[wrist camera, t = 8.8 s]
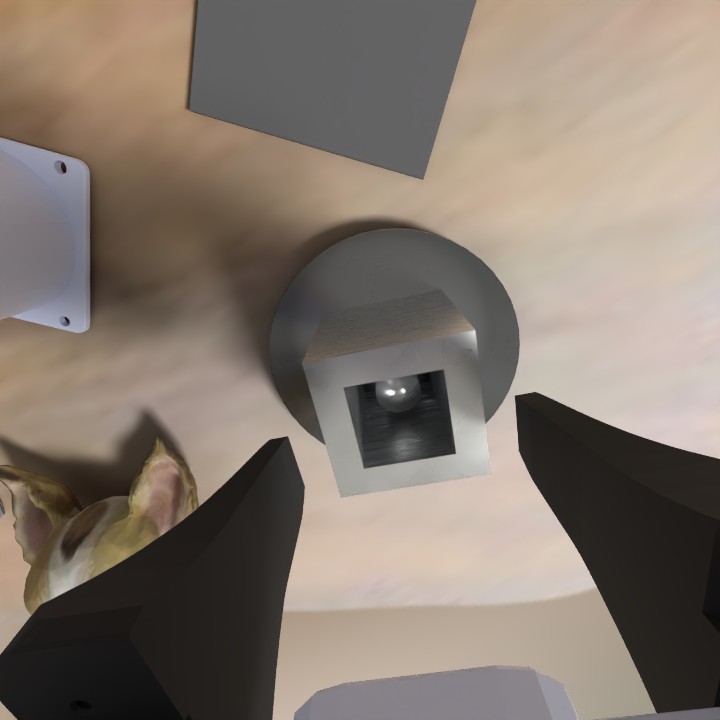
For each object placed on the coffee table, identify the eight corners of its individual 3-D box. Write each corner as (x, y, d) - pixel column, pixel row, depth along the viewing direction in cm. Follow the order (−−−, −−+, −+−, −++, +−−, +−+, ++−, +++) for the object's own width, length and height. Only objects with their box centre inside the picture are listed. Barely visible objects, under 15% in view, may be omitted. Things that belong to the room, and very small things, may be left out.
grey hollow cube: (348, 415, 20) (340, 497, 14) (322, 313, 18) (302, 363, 12) (455, 396, 19) (490, 474, 14) (441, 289, 17) (475, 330, 12)
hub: (257, 421, 22) (229, 477, 17) (300, 195, 17) (277, 193, 13) (461, 469, 22) (483, 533, 18) (551, 267, 18) (609, 287, 14)
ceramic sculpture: (25, 783, 20) (-155, 554, 15) (126, 620, 28) (30, 440, 23) (223, 763, 19) (95, 512, 14) (268, 600, 27) (196, 409, 22)
